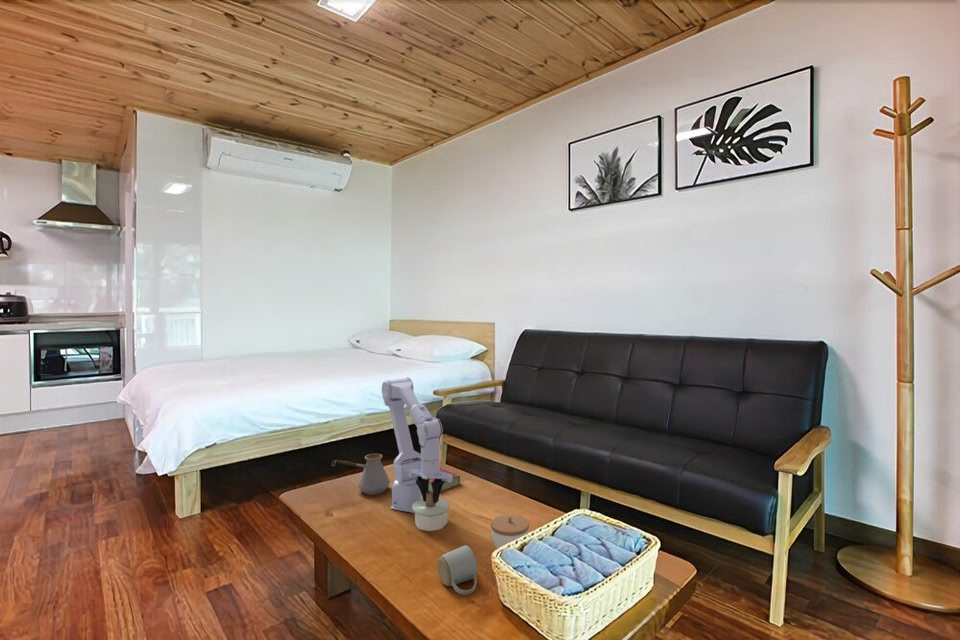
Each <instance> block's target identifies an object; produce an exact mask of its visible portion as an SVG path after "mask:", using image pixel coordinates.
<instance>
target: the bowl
mask: <svg viewBox="0 0 960 640" xmlns="http://www.w3.org/2000/svg"><path fill="white" fill-rule="evenodd" d="M414 524H415V526H416V528H417V529H418V530H421V531H427V532H433V531H437V530H438V531H439V530H442V529H444V527H446V525H447V524H448V510H447V511H446V512H444V513H442V514H439V515H434V516H423V515H419V514H416V513H414Z"/></svg>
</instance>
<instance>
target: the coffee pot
mask: <svg viewBox="0 0 960 640" xmlns="http://www.w3.org/2000/svg"><path fill="white" fill-rule="evenodd" d="M382 458H383V454H380V453H369V454H367V455H365V456H364V460H366V464H363V463H355V462H352V461H348V460H341V459H340V460H338V459H334V460H333V461H332V463H331V466H333V467H335V466H336V463H338V464H343V465H345V466H346V465H347V466H354V467H360V468H364V469H363V471H362V473H361V476H360V479H359V481H358V488H359V490H360V491H361V492H363V493H364V494H366V495H370V496H371V495H374V496H375V495H380V494H382V493H383V492H385V490H386V489H387V488H388V487H389V486H390V483H391V480H390V477H389V476H388V474H387V472H386V470H385V468H384V465H383V463H382V461H381V460H382Z"/></svg>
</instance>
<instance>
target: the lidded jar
mask: <svg viewBox="0 0 960 640" xmlns="http://www.w3.org/2000/svg"><path fill="white" fill-rule="evenodd" d="M529 528H530V522H529V520H528V518H525V517H524V516H521V515H519V514H514V513H512V514H511V513H506V514H500V515H497V516H495V517H493V518H492V520H491V521H490V529H491V533H490V534H491V538H492V542H493V544H494V546H495V548H496V549H498V548H499V547H501V546H503V545H505V544H507V543H509V542H511V541H514V540H516V539H518V538H520V537H522V536H524V535H526V534H528V533H529V531H530V529H529Z"/></svg>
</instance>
